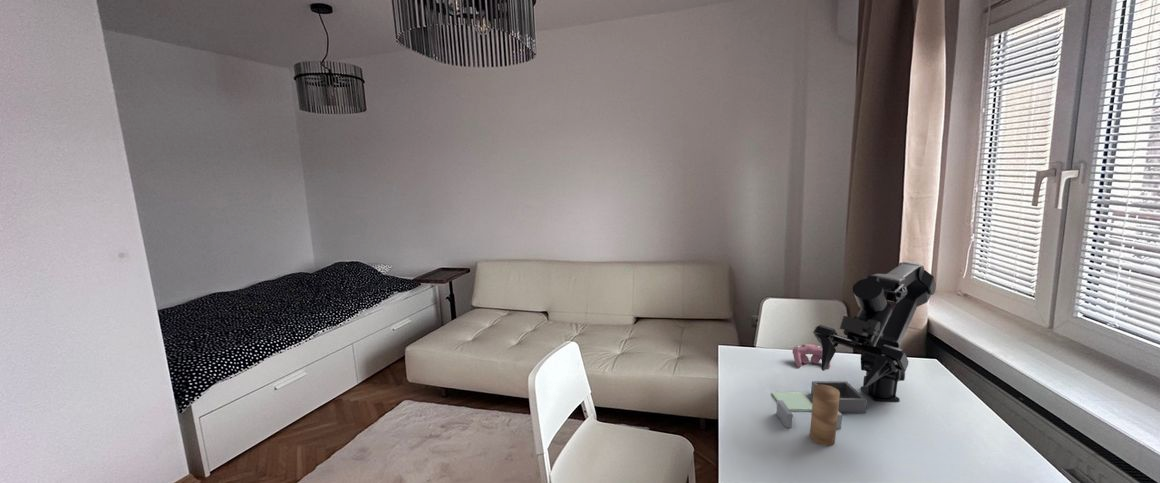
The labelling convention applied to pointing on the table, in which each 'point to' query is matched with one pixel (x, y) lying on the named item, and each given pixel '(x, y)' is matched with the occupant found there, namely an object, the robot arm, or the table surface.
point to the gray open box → (845, 396)
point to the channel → (787, 415)
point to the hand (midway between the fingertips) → (842, 377)
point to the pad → (794, 400)
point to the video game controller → (807, 349)
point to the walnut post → (824, 415)
